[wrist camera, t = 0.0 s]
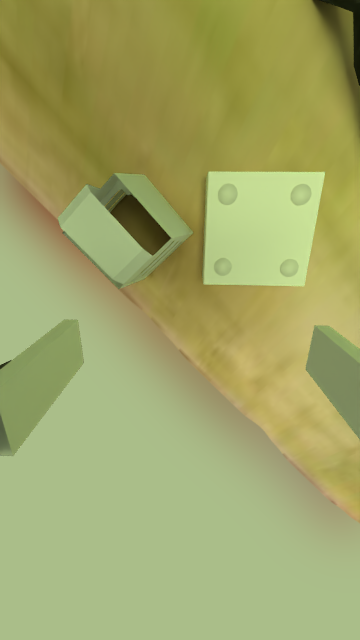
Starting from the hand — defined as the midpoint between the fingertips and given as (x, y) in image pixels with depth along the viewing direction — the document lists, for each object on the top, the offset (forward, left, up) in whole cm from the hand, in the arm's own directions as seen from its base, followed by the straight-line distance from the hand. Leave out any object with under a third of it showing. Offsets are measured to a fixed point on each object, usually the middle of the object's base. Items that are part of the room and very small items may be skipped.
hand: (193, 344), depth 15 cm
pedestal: (-5, +9, -28) cm, 30 cm away
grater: (-5, -7, -28) cm, 30 cm away
